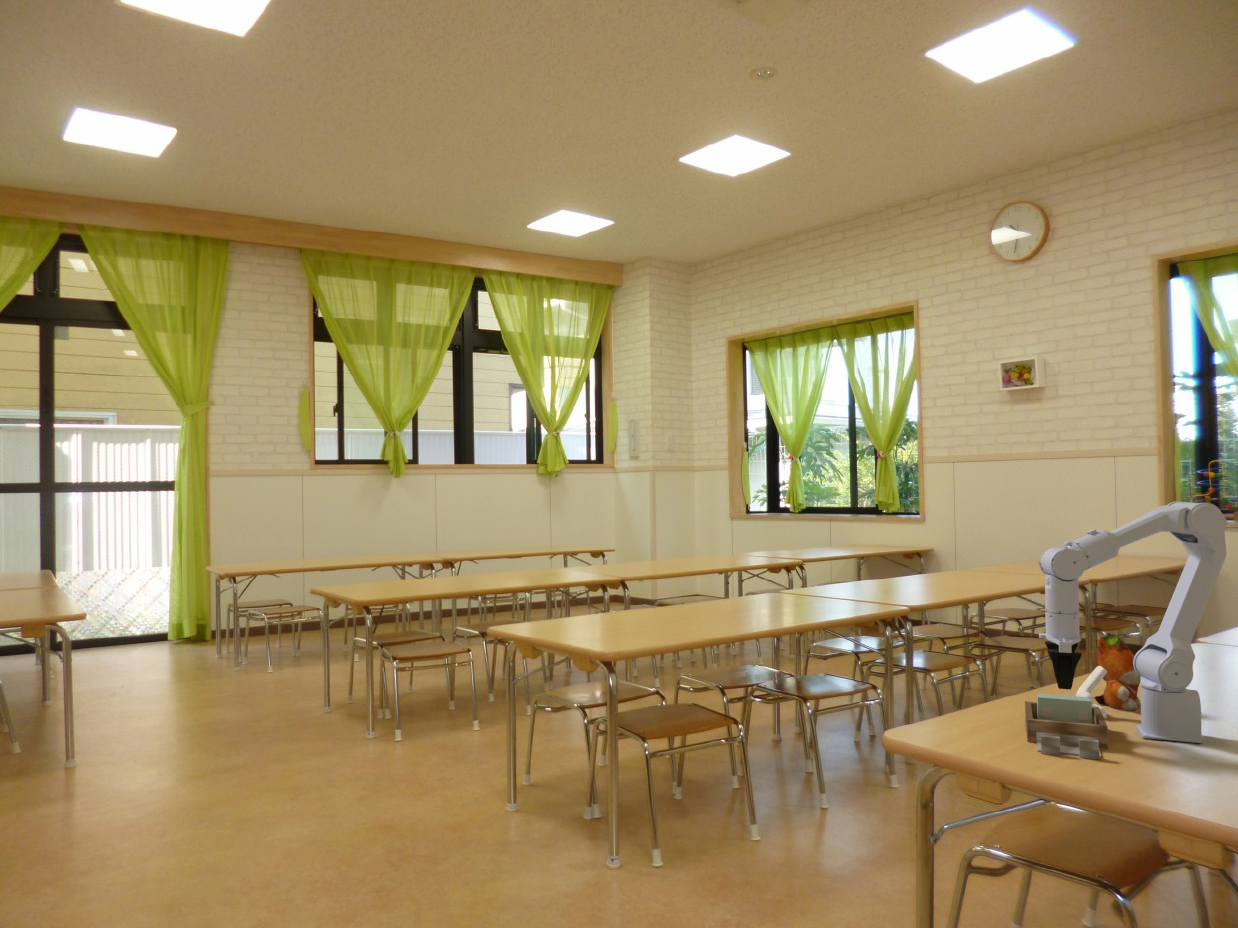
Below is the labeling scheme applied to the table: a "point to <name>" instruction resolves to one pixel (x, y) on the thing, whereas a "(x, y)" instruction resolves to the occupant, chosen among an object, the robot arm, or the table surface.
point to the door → (1064, 708)
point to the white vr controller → (1092, 686)
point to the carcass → (1067, 734)
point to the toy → (1117, 674)
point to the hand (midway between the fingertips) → (1063, 684)
